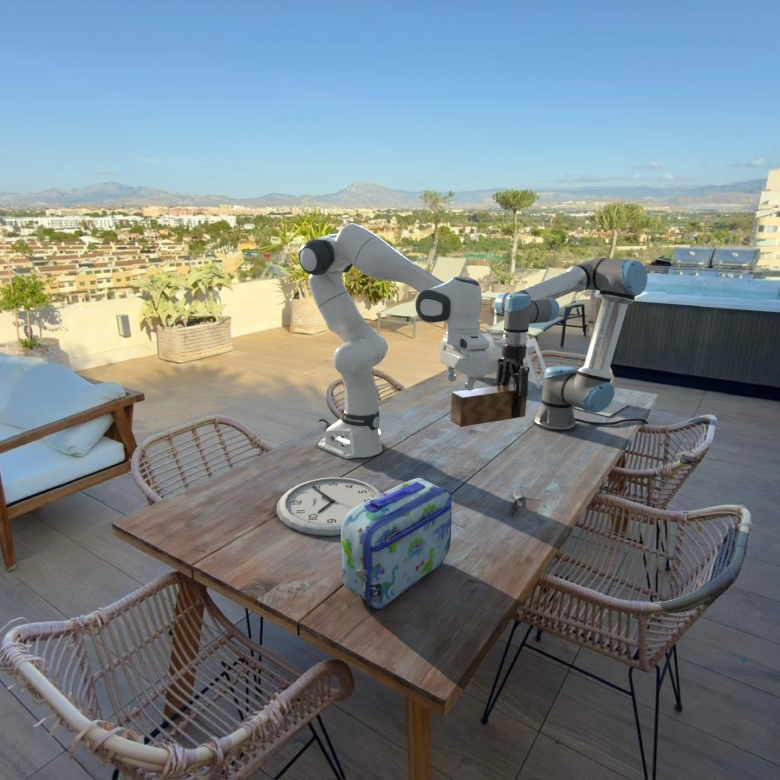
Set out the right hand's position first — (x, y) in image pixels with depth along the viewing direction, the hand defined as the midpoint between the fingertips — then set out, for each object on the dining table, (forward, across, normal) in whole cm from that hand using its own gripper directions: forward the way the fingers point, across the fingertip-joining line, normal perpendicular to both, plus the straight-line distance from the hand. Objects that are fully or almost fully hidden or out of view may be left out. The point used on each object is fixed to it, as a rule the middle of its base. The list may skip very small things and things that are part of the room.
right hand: (509, 413), depth 171 cm
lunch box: (+15, +44, -60) cm, 76 cm away
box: (+1, 0, -8) cm, 8 cm away
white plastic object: (+16, -72, +51) cm, 90 cm away
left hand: (-15, +9, -25) cm, 31 cm away
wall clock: (+15, +9, -64) cm, 66 cm away
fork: (+15, +28, -16) cm, 36 cm away
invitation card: (+16, -27, +70) cm, 76 cm away
